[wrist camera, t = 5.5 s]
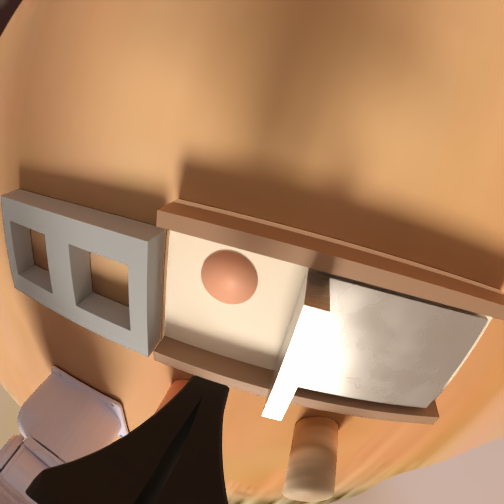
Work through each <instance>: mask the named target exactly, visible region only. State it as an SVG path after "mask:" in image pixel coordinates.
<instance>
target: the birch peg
mask: <svg viewBox="0 0 504 504" xmlns="http://www.w3.org/2000/svg"><path fill="white" fill-rule="evenodd" d="M337 445H338V424H337V423H336V422H335V421H334V420H332V419H330V418H327V417H322V416H312V417H306V418H303V419H301V420H299V421H298V422H297V423H296V424H295V428H294V434H293V440H292V446H291V451H290V457H289V462H288V467H287V473H286V478H285V483H284V487H283V492H282V493H283V495H284V496H286V497H287V498H290V499H293V500H297V501H304V502H316V501H323V500H327V499H329V498H331V497H332V496H333V495H334V487H335V475H336V462H337Z"/></svg>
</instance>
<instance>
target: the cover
mask: <svg viewBox="0 0 504 504" xmlns="http://www.w3.org/2000/svg"><path fill="white" fill-rule="evenodd" d="M487 322H488V319H487V317H486V316H485V315H482V314H478V313H475V312H471V311H467V310H464V309H460V308H456V307H452V306H449V305H445V304H441V303H438V302H434V301H430V300H427V299H423V298H419V297H415V296H412V295H408V294H404V293H401V292H397V291H393V290H390V289H386V288H382V287H378V286H375V285H371V284H367V283H364V282H360V281H356V280H353V279H349V278H345V277H341V276H338V275H334V274H330V273H327V272H323V271H319V270H316V269H312V268H308V269H307V272H306V275H305V278H304V281H303V285H302V288H301V291H300V294H299V297H298V300H297V303H296V306H295V310H294V313H293V316H292V319H291V322H290V325H289V328H288V330H287V333H286V336H285V339H284V342H283V345H282V348H281V351H280V354H279V356H278V359H277V362H276V365H275V367H274V370H273V374H272V378H271V382H270V386H269V390H268V394H267V398H266V402H265V406H264V410H263V414H262V416H264V417H268V418H272V419H276V420H280V421H281V419H282V417H283V415H284V413H285V411H286V409H287V407H288V405H289V403H290V401H291V399H292V397H293V395H294V393H295V391H296V389H297V387H301V388H306V389H310V390H314V391H319V392H324V393H329V394H334V395H339V396H344V397H349V398H355V399H361V400H367V401H373V402H379V403H386V404H394V405H402V406H410V407H419V408H427V407H428V405H429V404H430V403H431V402H432V401H433V399H434V398H435V397H436V396H437V395H438V393H439V392H440V391H441V390H442V388H443V387H444V386H445V384H446V383H447V382H448V380H449V379H450V378H451V376H452V375H453V374H454V372H455V371H456V370H457V368H458V367H459V365H460V364H461V363H462V361H463V360H464V358H465V357H466V355H467V354H468V352H469V351H470V349H471V348H472V346H473V345H474V343H475V341H476V340H477V338H478V337H479V335H480V333H481V332H482V330H483V328H484V327H485V325H486V323H487Z"/></svg>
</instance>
